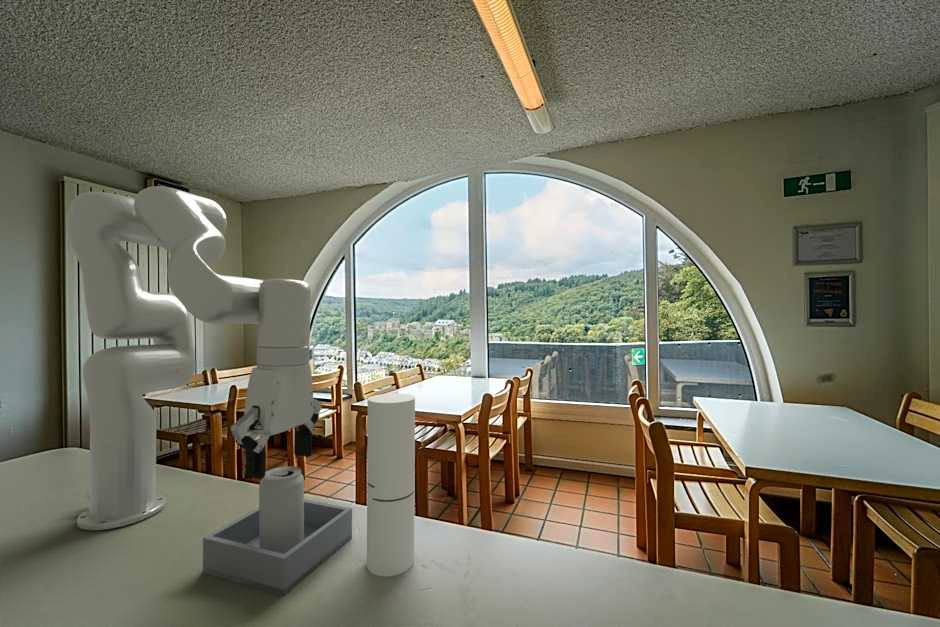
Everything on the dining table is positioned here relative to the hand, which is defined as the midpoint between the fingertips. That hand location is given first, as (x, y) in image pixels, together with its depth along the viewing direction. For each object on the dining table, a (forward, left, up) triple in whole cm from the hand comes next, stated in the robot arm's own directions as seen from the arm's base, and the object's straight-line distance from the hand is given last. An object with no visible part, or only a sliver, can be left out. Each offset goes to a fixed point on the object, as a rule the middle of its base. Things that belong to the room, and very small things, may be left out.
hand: (280, 465), depth 64 cm
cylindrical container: (+18, +4, -14) cm, 23 cm away
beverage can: (0, 0, -13) cm, 13 cm away
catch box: (+1, 0, -14) cm, 14 cm away
